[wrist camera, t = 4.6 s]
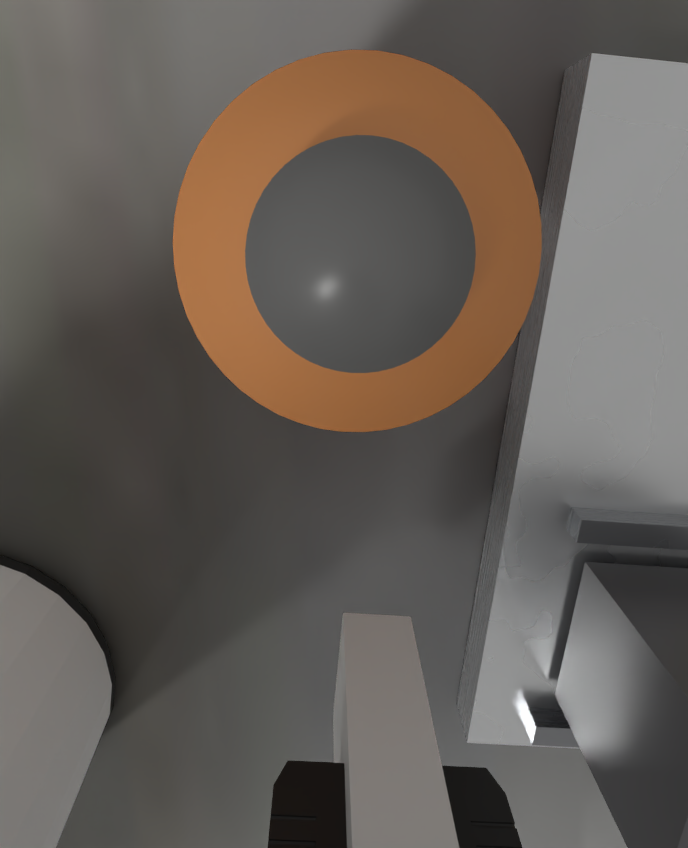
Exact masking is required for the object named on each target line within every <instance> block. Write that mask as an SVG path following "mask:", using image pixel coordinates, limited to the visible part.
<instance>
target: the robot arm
mask: <svg viewBox="0 0 688 848" xmlns="http://www.w3.org/2000/svg"><path fill="white" fill-rule="evenodd" d="M333 745H334V763H330V762H308V761H287V763H286V765H285V766H284V768H283V770H282V772H281V773H280V775H279V777H278V779H277V780H276V782H275V784H274V787H273V798H272V808H271V820H270V829H269V840H268V848H522V845H521V842H520V839H519V835H518V832H517V829H515V826H514V819H513V816H512V813H511V810H510V807H509V803H508V800H507V797H506V794H505V792H504V791H503V790H502V788H501V787H500V786H499V784H498V783H497V782H496V780H495V779H494V778H493V776H492V775H491V774H490V772H489V771H488V770H487V768H477V767H455V766H442V763H441V759H440V754H439V749H438V744H437V739H436V735H435V730H434V725H433V720H432V716H431V711H430V706H429V701H428V697H427V692H426V687H425V682H424V678H423V673H422V668H421V663H420V659H419V654H418V649H417V644H416V640H415V635H414V630H413V625H412V621H411V616H394V615H377V614H360V613H343V617H342V628H341V638H340V648H339V658H338V669H337V679H336V689H335V699H334V710H333Z"/></svg>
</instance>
